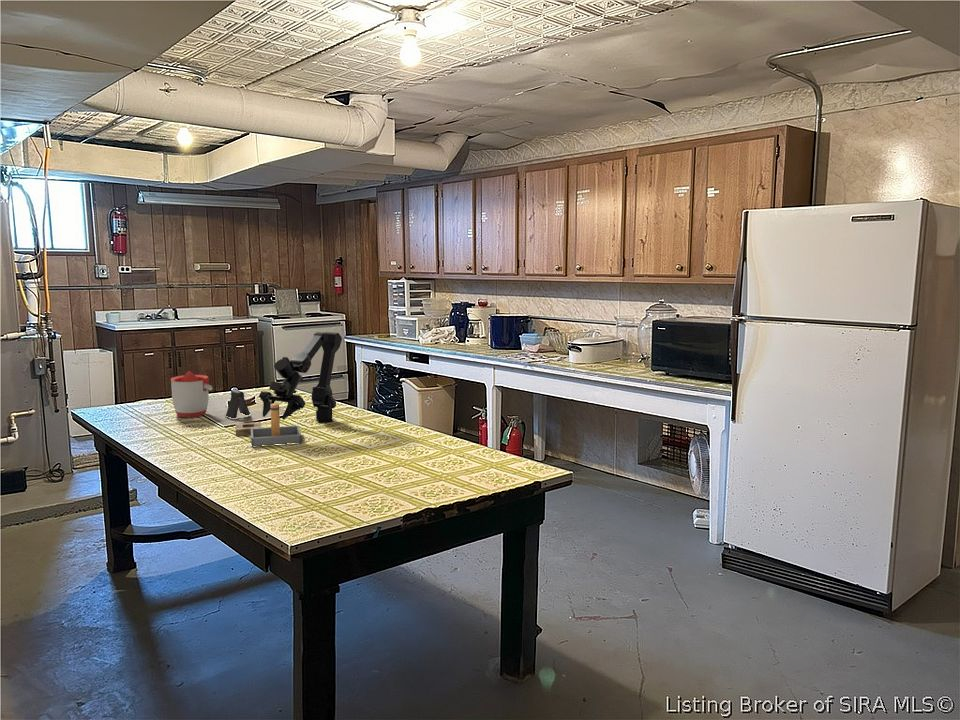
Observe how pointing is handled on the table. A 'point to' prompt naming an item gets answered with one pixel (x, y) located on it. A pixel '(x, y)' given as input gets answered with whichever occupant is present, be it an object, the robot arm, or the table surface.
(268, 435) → the tray
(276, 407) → the pin
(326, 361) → the robot arm
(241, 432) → the socket block
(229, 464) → the table surface
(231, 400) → the dark grey a-frame piece
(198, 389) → the citrus juicer
